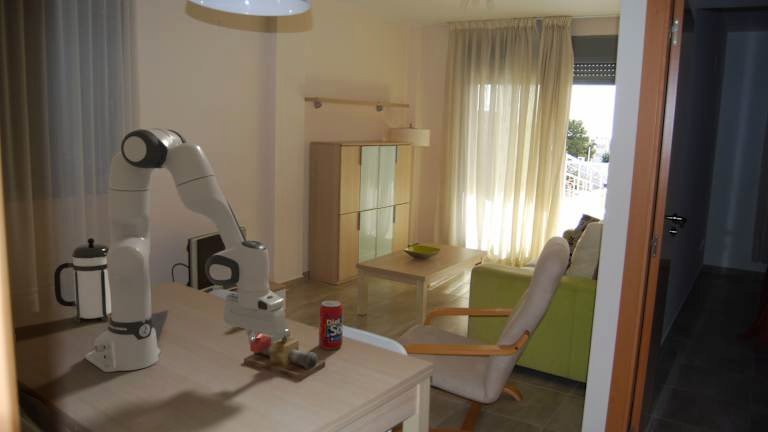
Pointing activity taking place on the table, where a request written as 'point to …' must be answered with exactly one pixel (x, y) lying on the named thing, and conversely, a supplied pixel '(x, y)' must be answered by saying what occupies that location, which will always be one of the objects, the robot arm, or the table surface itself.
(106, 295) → the coffee press
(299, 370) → the valve mount
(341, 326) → the soda can
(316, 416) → the table surface
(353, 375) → the table surface
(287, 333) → the valve lever
